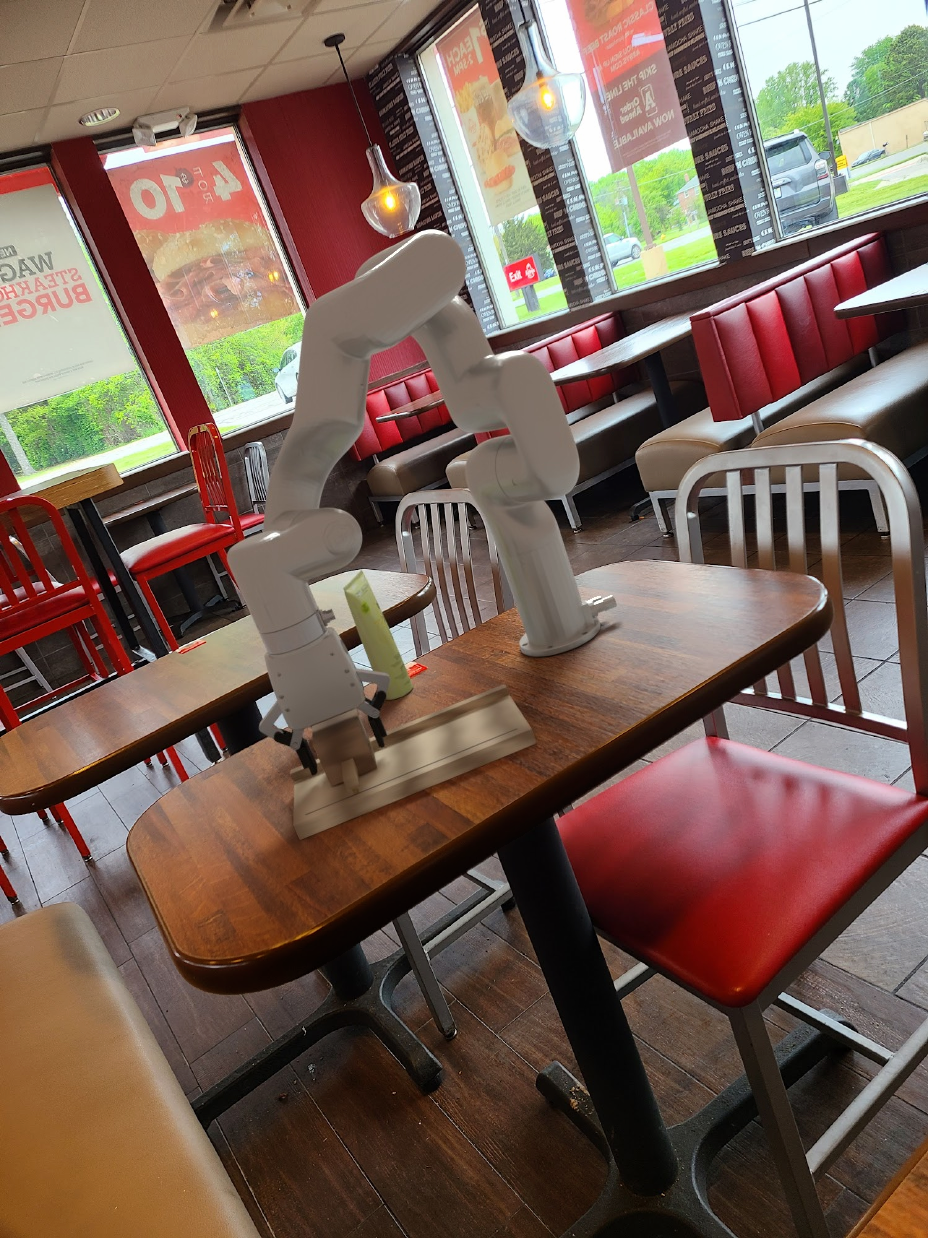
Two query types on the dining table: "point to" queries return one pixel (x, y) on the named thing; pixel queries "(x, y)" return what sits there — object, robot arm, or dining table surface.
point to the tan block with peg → (344, 749)
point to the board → (415, 759)
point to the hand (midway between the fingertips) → (348, 756)
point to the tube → (377, 636)
